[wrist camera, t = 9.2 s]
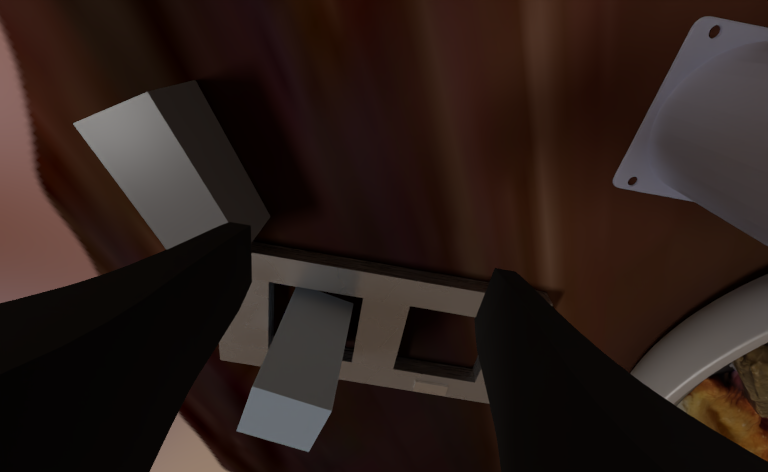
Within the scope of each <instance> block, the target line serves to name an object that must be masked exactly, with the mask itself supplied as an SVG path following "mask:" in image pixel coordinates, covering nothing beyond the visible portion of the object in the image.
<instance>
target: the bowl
mask: <svg viewBox="0 0 768 472" xmlns="http://www.w3.org/2000/svg"><path fill="white" fill-rule="evenodd" d="M630 374H631V375H633V376H634V377H635V378H637V379H638V380H639V381H641V382H642V383H643V384H645V385H646V386H648V387H649V388H650V389H652V390H653V391H655V392H656V393H658V394H659V395H661V396H662V397H664V398H665V399H666V400H668V401H669V402H671V403H672V404H674V405H675V406H677V407H678V408H680V409H681V410H683V411H684V412H686V413H687V414H689V415H690V416H692V417H694V418H695V419H697V420H698V421H700V422H702V423H703V424H705V425H706V426H708V427H710V428H711V429H713V430H714V431H716V432H718V433H720V434H721V435H723V436H725V437H726V438H728V439H730V440H731V441H733V442H735V443H736V444H738V445H740V446H741V447H743V448H745V449H746V450H748V451H750V452H752V453H753V454H755V455H757V456H759V457H760V458H762V459H764V460H766V461H768V274H766V275H764V276H762V277H759V278H757V279H755V280H753V281H751V282H749V283H747V284H745V285H742V286H741V287H739V288H737V289H735V290H733V291H731V292H729V293H727V294H725V295H724V296H722V297H720V298H718V299H717V300H715V301H713V302H711V303H710V304H708V305H707V306H705V307H703V308H702V309H700V310H699V311H697V312H696V313H694V314H693V315H691V316H690V317H688V318H687V319H686V320H684V321H683V322H682V323H680V324H679V325H678V326H676V327H675V328H674V329H672V330H671V331H670V332H669V333H668V334H666V335H665V336H664V337H663V338H662V339H661V340H660V341H659V342H657V343H656V344H655V345H654V346H653V347H652V348H651V349H650V350H649V351H648V352H647V353H646V354H645V356H644V357H643V358H642V359H641V360H640V361H639V363H638V364H637V365H636V366H635V367H634V369H633V370H632V371H631V373H630Z"/></svg>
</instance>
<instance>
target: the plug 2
mask: <svg viewBox="0 0 768 472" xmlns="http://www.w3.org/2000/svg"><path fill="white" fill-rule="evenodd" d="M352 309H353V303H351V302H348V301H345V300H342V299H339V298H337V297H334V296H331V295H328V294H325V293H323V292H320V291H317V290H313V289H307V288H301V287H296V288H295V291H294V293H293V295H292V297H291V300H290V302H289V304H288V306H287V309H286V311H285V313H284V316H283V318H282V320H281V322H280V325H279V327H278V329H277V332H276V334H275V336H274V338H273V341H272V343H271V345H270V348H269V350H268V352H267V354H266V357H265V359H264V361H263V363H262V366H261V368H260V370H259V373H258V375H257V377H256V379H255V382H254V384H253V386H252V389H251V392H250V395H249V398H248V400H247V403H246V406H245V409H244V412H243V414H242V417H241V420H240V423H239V426H238V429H237V431H238V432H242V433H245V434H248V435H252V436H255V437H259V438H262V439H266V440H269V441H273V442H276V443H280V444H283V445H286V446H290V447H293V448H297V449H300V450H304V451H307V452H309V450H310V449H311V447H312V445H313V443H314V442H315V440H316V438H317V436H318V435H319V433H320V431H321V429H322V427H323V426H324V424H325V422H326V420H327V419H328V417H329V415H330V413H331V412H332V407H333V403H334V398H335V393H336V388H337V383H338V378H339V373H340V368H341V363H342V358H343V353H344V348H345V343H346V338H347V334H348V329H349V324H350V319H351V314H352Z"/></svg>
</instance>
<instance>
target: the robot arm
mask: <svg viewBox="0 0 768 472" xmlns="http://www.w3.org/2000/svg"><path fill="white" fill-rule="evenodd" d="M715 25H718V26H720V32H719V34H718V35H717V36H716V37H714V38H712V39H711V38H710V37H709V31H710V29H711V28H712V27H713V26H715ZM632 177H637V182H636V183H635V184H633V185H628V180H629V179H630V178H632ZM613 184H614V185H615V186H616V187H618V188H622V189H627V190H633V191H638V192H643V193H649V194H654V195H660V196H665V197H671V198H676V199H681V200H687V201H692V202H695V203H697V204H699V205H700V206H702V207H704V208H705V209H707V210H709V211H710V212H712V213H714V214H715V215H717V216H719V217H720V218H722V219H724V220H725V221H727V222H728V223H730V224H732V225H733V226H735V227H737V228H738V229H740V230H742V231H743V232H745V233H747V234H748V235H750V236H752V237H753V238H755V239H757V240H758V241H760V242H762V243H763V244H765V245H767V246H768V28H766V27H762V26H757V25H752V24H747V23H742V22H737V21H732V20H727V19H722V18H717V17H712V16H705V17H702V18H700V19H699V20H697V21H696V22H695V23H694V24H693V26H692V27H691V29H690V31H689V33H688V35H687V37H686V39H685V41H684V43H683V45H682V46H681V48H680V50H679V52H678V54H677V56H676V58H675V60H674V62H673V64H672V66H671V68H670V70H669V72H668V73H667V75H666V77H665V79H664V81H663V83H662V85H661V87H660V89H659V91H658V93H657V95H656V97H655V99H654V100H653V102H652V104H651V106H650V108H649V110H648V112H647V114H646V116H645V118H644V120H643V122H642V124H641V126H640V127H639V129H638V131H637V133H636V135H635V137H634V139H633V141H632V143H631V145H630V147H629V149H628V151H627V153H626V154H625V156H624V158H623V160H622V162H621V164H620V166H619V168H618V170H617V172H616V174H615V176H614V178H613ZM251 283H252V255H251V225H245V224H239V223H234V222H228V223H225V224H223V225H220V226H218V227H216V228H213V229H211V230H209V231H207V232H205V233H202V234H200V235H198V236H196V237H194V238H192V239H189V240H187V241H185V242H183V243H180V244H178V245H176V246H174V247H172V248H169V249H167V250H165V251H162V252H160V253H158V254H155V255H153V256H150V257H148V258H145V259H143V260H140V261H138V262H136V263H133V264H131V265H128V266H126V267H123V268H120V269H117V270H115V271H112V272H109V273H106V274H103V275H100V276H97V277H94V278H91V279H88V280H85V281H82V282H79V283H75V284H72V285H69V286H65V287H62V288H58V289H54V290H50V291H47V292H43V293H39V294H35V295H31V296H28V297H24V298H20V299H16V300H12V301H8V302H4V303H0V472H150V469H151V467H152V465H153V463H154V461H155V459H156V457H157V455H158V452H159V450H160V448H161V446H162V444H163V442H164V440H165V438H166V436H167V434H168V431H169V429H170V427H171V425H172V423H173V421H174V419H175V417H176V415H177V413H178V412H179V410H180V408H181V406H182V404H183V402H184V400H185V398H186V396H187V394H188V392H189V390H190V388H191V386H192V385H193V383H194V381H195V380H196V378H197V376H198V375H199V373H200V371H201V370H202V368H203V367H204V365H205V364H206V362H207V360H208V359H209V357H210V356H211V354H212V353H213V351H214V350H215V348H216V346H217V345H218V343H219V342H220V340H221V339H222V337H223V335H224V334H225V332H226V331H227V329H228V328H229V326H230V324H231V323H232V321H233V320H234V318H235V316H236V315H237V313H238V311H239V310H240V307H241V305H242V303H243V301H244V299H245V297H246V295H247V292H248V290H249V288H250V285H251ZM475 332H476V343H477V351H478V356H479V361H480V365H481V369H482V374H483V378H484V382H485V387H486V391H487V395H488V399H489V404H490V408H491V412H492V416H493V421H494V425H495V431H496V436H497V441H498V449H499V457H500V464H501V472H768V461H766V460H764V459H762V458H760V457H759V456H757V455H755V454H753V453H752V452H750V451H748V450H746V449H745V448H743V447H741V446H740V445H738V444H736V443H735V442H733V441H731V440H730V439H728V438H726V437H725V436H723V435H721V434H720V433H718V432H716V431H714V430H713V429H711V428H710V427H708V426H706V425H705V424H703V423H702V422H700V421H698V420H697V419H695V418H694V417H692V416H690V415H689V414H687V413H686V412H684V411H683V410H681V409H680V408H678V407H677V406H675V405H674V404H672V403H671V402H669V401H668V400H666V399H665V398H664V397H662V396H661V395H659V394H658V393H656V392H655V391H653V390H652V389H650V388H649V387H648V386H646V385H645V384H643V383H642V382H641V381H639V380H638V379H637V378H635V377H634V376H633V375H631V374H630V373H629V372H627V371H626V370H625V369H623V368H622V367H621V366H620V365H618V364H617V363H616V362H614V361H613V360H612V359H611V358H609V357H608V356H607V355H606V354H604V353H603V352H602V351H601V350H600V349H598V348H597V347H596V346H595V345H594V344H593V343H591V342H590V341H589V340H588V339H587V338H586V337H585V336H583V335H582V334H581V333H580V332H579V331H578V330H577V329H576V328H574V327H573V326H572V325H571V324H570V323H569V322H568V321H567V320H566V319H565V318H564V317H563V316H562V315H560V314H559V313H558V312H557V311H556V310H555V309H554V308H553V307H552V306H551V305H550V304H549V303H548V302H547V301H546V300H545V299H544V298H543V297H542V296H541V295H540V294H539V293H538V292H537V291H536V290H535V289H534V288H533V287H532V286H531V285H530V284H529V283H527V282H526V281H525V280H524V279H523V278H522V277H521V276H520V275H519V274H517V273H516V272H514V271H508V270H502V269H497V268H495V269H494V272H493V274H492V277H491V279H490V282H489V284H488V287H487V290H486V292H485V295H484V297H483V300H482V302H481V305H480V307H479V310H478V312H477V315H476V317H475Z"/></svg>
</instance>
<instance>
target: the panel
mask: <svg viewBox="0 0 768 472" xmlns="http://www.w3.org/2000/svg"><path fill="white" fill-rule="evenodd" d="M251 255H252V283H251V285H250V288H249V290H248V292H247V295H246V297H245V299H244V301H243V303H242V305H241V307H240V310H239V311H238V313H237V315H236V316H235V318H234V320H233V321H232V323H231V324H230V326H229V328H228V329H227V331H226V332H225V334H224V335H223V337H222V339H221V340H220V342H219V349H220V360H224V361H231V362H237V363H243V364H249V365H255V366H262V363H263V361H264V359H265V357H266V354H267V352H268V350H269V348H270V345H271V343H272V341H273V338H274V287H275V283H277V284H283V285H289V286H295V287H301V288H307V289H313V290H319V291H324V292H330V293H336V294H342V295H348V296H354V297H360V298H363V302H362V307H361V313H360V319H359V324H358V330H357V335H356V341H355V346H354V349H348V348H344V353H343V358H342V363H341V368H340V373H339V378H338V379H341V380H347V381H354V382H360V383H366V384H372V385H378V386H384V387H390V388H397V389H403V390H409V391H415V392H421V393H427V394H433V395H440V396H446V397H452V398H458V399H464V400H470V401H476V402H483V403H489V399H488V395H487V391H486V387H485V382H484V378H483V374H482V369H481V365H480V361H479V356H478V357H477V360H476V362H475V364H474V367H473V369H469V368H463V367H457V366H451V365H445V364H438V363H432V362H426V361H420V360H414V359H408V358H402V357H397V353H398V349H399V345H400V342H401V338H402V334H403V330H404V327H405V323H406V319H407V315H408V312H409V308H410V306H413V307H418V308H424V309H430V310H436V311H442V312H448V313H454V314H460V315H465V316H471V317H476V315H477V312H478V310H479V307H480V305H481V302H482V300H483V297H484V295H485V292H486V290H487V287H488V284H489V282H484V281H478V280H473V279H467V278H461V277H455V276H450V275H444V274H438V273H432V272H427V271H421V270H415V269H409V268H404V267H398V266H392V265H386V264H381V263H375V262H369V261H363V260H357V259H352V258H346V257H340V256H334V255H329V254H323V253H317V252H311V251H306V250H300V249H294V248H288V247H283V246H277V245H271V244H265V243H259V242H254V241H252V243H251ZM537 292H538V293H539V294H540V295H541V296H542V297H543V298H544V299H545V300H546V301H547V302H548V303H549V304H550V305H551V306H552V305H553V304H552V302H551V300H550V298H549V296H548V294H547V293H546V292H542V291H537Z"/></svg>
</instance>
